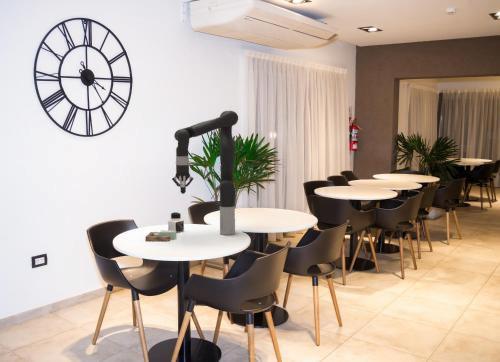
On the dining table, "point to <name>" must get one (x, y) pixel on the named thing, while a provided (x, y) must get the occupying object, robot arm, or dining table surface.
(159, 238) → the tray
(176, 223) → the medicine bottle
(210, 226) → the dining table surface
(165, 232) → the bottle
